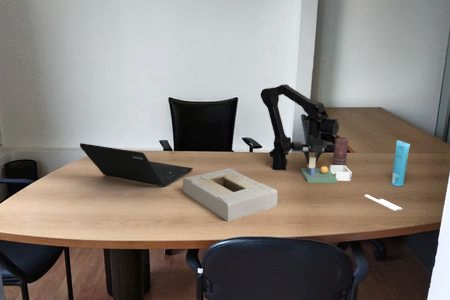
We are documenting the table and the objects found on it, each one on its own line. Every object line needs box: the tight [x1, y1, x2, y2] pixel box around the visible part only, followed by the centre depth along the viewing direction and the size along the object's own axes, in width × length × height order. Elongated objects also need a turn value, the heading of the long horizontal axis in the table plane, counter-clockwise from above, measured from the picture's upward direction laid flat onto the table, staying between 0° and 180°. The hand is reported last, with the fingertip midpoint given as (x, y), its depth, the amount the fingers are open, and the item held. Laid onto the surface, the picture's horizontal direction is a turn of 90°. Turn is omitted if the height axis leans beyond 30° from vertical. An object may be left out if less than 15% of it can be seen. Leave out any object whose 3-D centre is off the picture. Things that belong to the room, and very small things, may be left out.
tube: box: [391, 139, 411, 187], centre depth 165 cm, size 7×5×19 cm, turn 26°
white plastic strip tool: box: [364, 194, 404, 212], centre depth 150 cm, size 5×15×1 cm, turn 25°
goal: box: [329, 164, 353, 182], centre depth 176 cm, size 7×10×4 cm
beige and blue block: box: [307, 155, 317, 175], centre depth 175 cm, size 3×7×8 cm, turn 1°
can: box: [332, 137, 350, 166], centre depth 190 cm, size 6×6×14 cm
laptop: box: [79, 142, 193, 187], centre depth 170 cm, size 33×38×19 cm
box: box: [182, 167, 279, 222], centre depth 150 cm, size 23×8×32 cm
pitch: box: [300, 167, 338, 184], centre depth 176 cm, size 13×15×2 cm
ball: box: [320, 165, 329, 174], centre depth 175 cm, size 4×4×4 cm
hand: (311, 164), depth 175 cm, fingers closed on beige and blue block, 3 cm apart
